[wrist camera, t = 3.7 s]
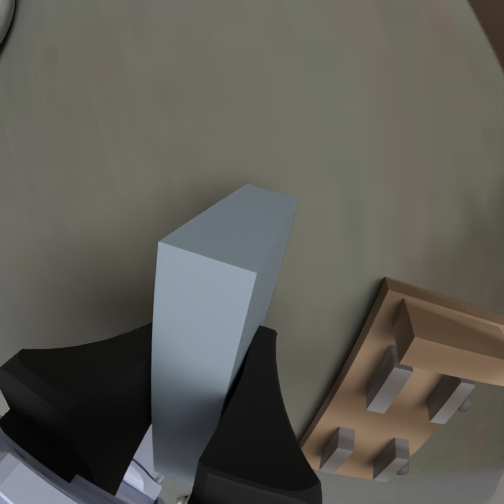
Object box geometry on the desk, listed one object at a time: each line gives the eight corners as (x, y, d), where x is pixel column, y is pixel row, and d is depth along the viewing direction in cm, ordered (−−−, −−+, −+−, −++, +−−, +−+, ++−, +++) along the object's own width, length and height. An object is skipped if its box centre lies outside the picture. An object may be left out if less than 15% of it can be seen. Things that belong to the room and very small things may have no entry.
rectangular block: (259, 391, 16) (219, 497, 10) (208, 373, 16) (153, 470, 10) (320, 204, 12) (299, 286, 6) (247, 183, 12) (158, 241, 6)
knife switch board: (384, 468, 23) (382, 512, 19) (294, 450, 24) (282, 496, 20) (502, 315, 16) (532, 363, 11) (385, 277, 17) (397, 327, 13)
